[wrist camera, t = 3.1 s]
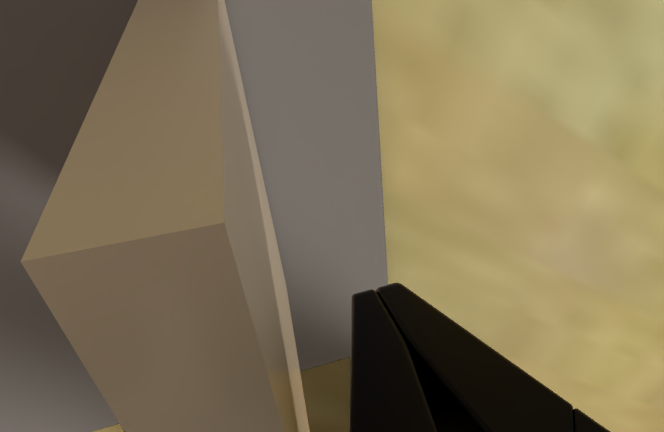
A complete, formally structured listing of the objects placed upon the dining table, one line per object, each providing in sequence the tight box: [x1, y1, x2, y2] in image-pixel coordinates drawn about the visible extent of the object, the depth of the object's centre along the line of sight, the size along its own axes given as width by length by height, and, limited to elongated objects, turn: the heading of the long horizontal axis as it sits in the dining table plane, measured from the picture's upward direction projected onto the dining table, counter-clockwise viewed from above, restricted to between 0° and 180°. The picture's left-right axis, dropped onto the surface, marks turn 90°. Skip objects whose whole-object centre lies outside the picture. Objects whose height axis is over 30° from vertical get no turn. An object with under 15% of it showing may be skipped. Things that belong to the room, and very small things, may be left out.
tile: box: [21, 0, 310, 432], centre depth 10 cm, size 9×2×9 cm, turn 6°
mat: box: [0, 0, 388, 432], centre depth 13 cm, size 18×16×1 cm
